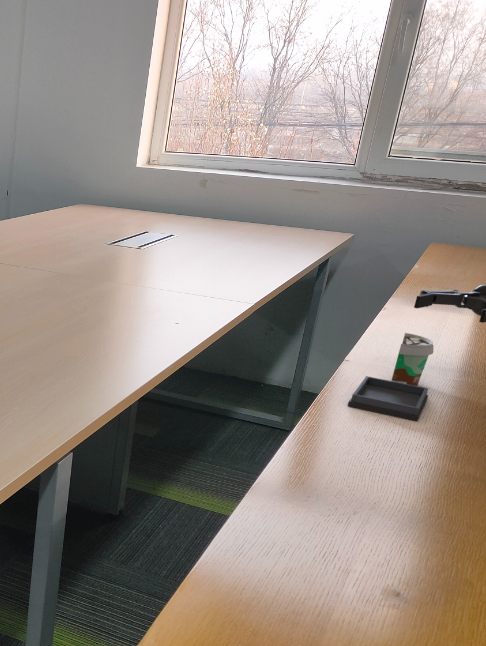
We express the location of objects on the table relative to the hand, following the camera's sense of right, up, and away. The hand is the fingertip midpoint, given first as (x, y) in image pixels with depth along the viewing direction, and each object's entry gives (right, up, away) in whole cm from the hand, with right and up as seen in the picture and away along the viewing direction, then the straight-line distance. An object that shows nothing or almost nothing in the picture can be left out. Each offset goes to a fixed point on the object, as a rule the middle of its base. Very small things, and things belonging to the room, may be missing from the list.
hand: (448, 309), depth 175 cm
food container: (-9, -17, +1) cm, 19 cm away
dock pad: (-20, -21, -11) cm, 31 cm away
